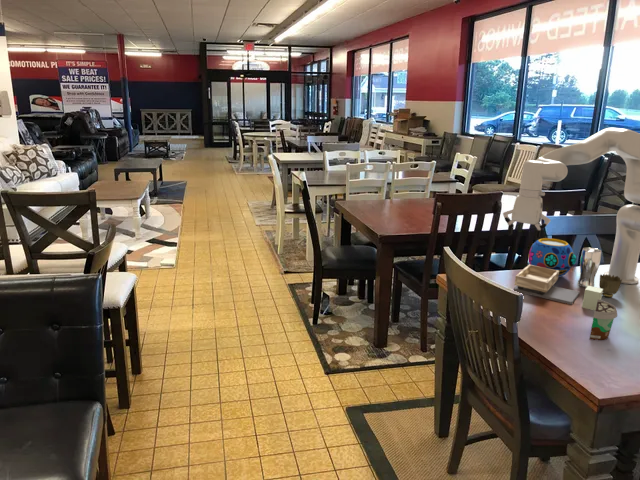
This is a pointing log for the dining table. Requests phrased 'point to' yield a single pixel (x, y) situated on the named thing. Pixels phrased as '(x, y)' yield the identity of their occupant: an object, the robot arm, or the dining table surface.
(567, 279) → the dining table surface
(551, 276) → the slatted wooden crate
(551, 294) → the dark gray flat slab
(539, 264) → the ceramic pot
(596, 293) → the cream rectangular block
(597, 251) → the beer glass
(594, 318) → the food container
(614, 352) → the dining table surface
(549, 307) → the dining table surface
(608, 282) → the cup
